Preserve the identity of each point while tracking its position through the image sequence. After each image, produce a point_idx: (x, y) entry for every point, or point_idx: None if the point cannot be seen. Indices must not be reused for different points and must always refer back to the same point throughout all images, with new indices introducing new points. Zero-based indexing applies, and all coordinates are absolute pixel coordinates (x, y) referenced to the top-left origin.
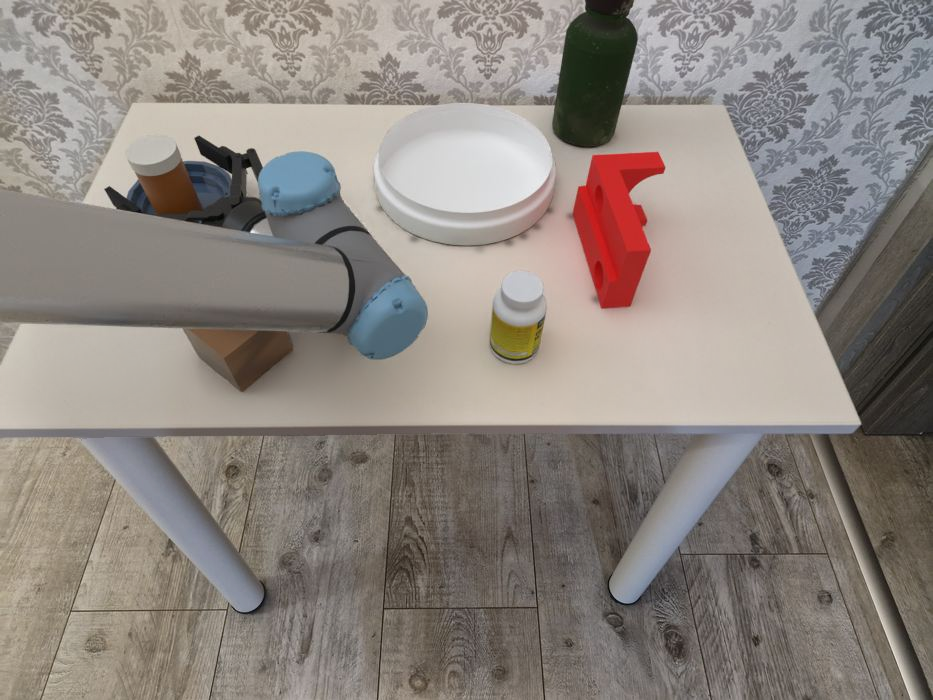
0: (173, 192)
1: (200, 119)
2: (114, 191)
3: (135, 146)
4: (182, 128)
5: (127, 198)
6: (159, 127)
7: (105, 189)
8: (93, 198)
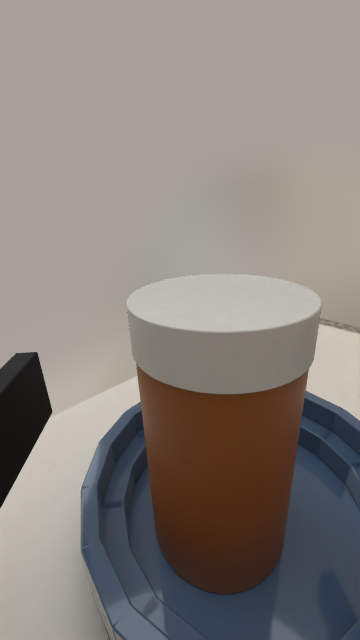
0: (208, 478)
1: (338, 344)
2: (13, 372)
3: (186, 281)
4: None
5: (137, 405)
6: None
7: (16, 356)
8: (130, 379)
